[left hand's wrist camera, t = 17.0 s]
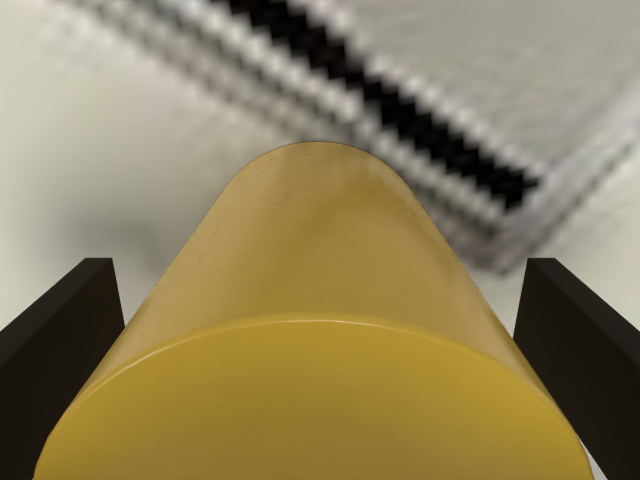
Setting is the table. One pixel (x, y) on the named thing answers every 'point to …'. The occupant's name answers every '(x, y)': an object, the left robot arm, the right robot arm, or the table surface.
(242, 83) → the table surface
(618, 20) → the table surface
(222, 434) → the can
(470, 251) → the table surface
